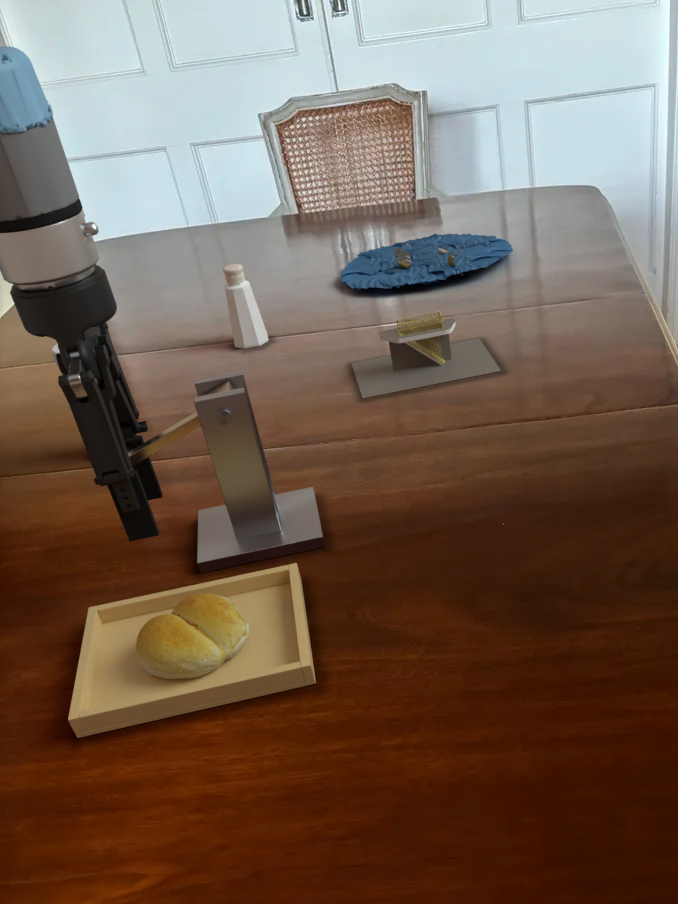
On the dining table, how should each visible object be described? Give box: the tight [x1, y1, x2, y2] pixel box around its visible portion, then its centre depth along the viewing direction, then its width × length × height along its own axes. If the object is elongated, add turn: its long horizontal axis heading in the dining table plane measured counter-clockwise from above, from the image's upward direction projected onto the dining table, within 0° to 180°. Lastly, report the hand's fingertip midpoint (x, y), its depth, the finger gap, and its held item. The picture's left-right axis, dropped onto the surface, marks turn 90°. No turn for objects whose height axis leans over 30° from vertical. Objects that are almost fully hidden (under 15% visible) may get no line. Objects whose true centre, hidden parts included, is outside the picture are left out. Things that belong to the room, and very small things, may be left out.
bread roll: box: [136, 593, 250, 679], centre depth 74 cm, size 8×9×4 cm
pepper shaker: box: [222, 263, 270, 350], centre depth 129 cm, size 5×5×11 cm
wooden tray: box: [67, 562, 317, 739], centre depth 75 cm, size 19×15×2 cm
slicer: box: [193, 370, 326, 574], centre depth 85 cm, size 12×10×16 cm
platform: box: [350, 310, 502, 399], centre depth 116 cm, size 12×18×7 cm, turn 102°
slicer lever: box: [125, 381, 234, 467], centre depth 82 cm, size 13×6×2 cm, turn 102°
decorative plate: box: [339, 233, 514, 292], centre depth 150 cm, size 30×30×5 cm
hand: (146, 516), depth 86 cm, fingers open, 6 cm apart
